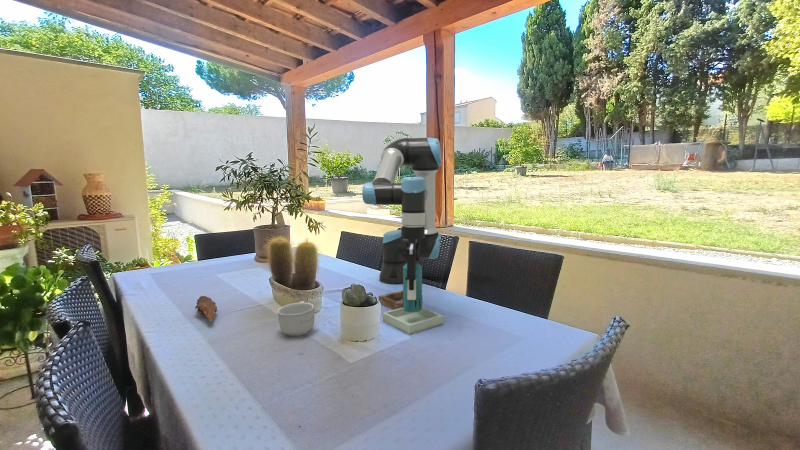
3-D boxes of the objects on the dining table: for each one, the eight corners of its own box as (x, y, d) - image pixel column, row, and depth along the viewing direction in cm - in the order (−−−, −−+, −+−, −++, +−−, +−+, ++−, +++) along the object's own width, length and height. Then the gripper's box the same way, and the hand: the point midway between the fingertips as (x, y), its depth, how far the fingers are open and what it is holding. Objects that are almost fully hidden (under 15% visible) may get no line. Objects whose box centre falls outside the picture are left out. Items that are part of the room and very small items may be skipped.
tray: (415, 312, 136) (415, 304, 136) (442, 324, 125) (442, 315, 125) (382, 321, 127) (382, 312, 127) (409, 335, 116) (409, 325, 116)
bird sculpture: (202, 330, 120) (201, 314, 119) (190, 308, 140) (189, 295, 139) (225, 325, 124) (224, 310, 123) (210, 304, 144) (209, 291, 143)
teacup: (305, 341, 112) (304, 314, 111) (271, 338, 114) (270, 312, 113) (324, 323, 126) (323, 299, 125) (293, 321, 128) (292, 297, 127)
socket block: (402, 297, 152) (402, 290, 152) (421, 305, 143) (421, 297, 143) (378, 303, 145) (378, 296, 145) (397, 312, 136) (397, 303, 136)
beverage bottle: (415, 318, 121) (415, 256, 119) (398, 313, 125) (398, 253, 123) (426, 312, 126) (427, 253, 124) (410, 308, 130) (410, 250, 128)
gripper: (404, 222, 132) (404, 287, 135) (397, 229, 113) (397, 305, 116) (426, 222, 131) (425, 288, 134) (422, 229, 112) (422, 306, 115)
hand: (412, 295), depth 125 cm, fingers closed on beverage bottle, 6 cm apart
